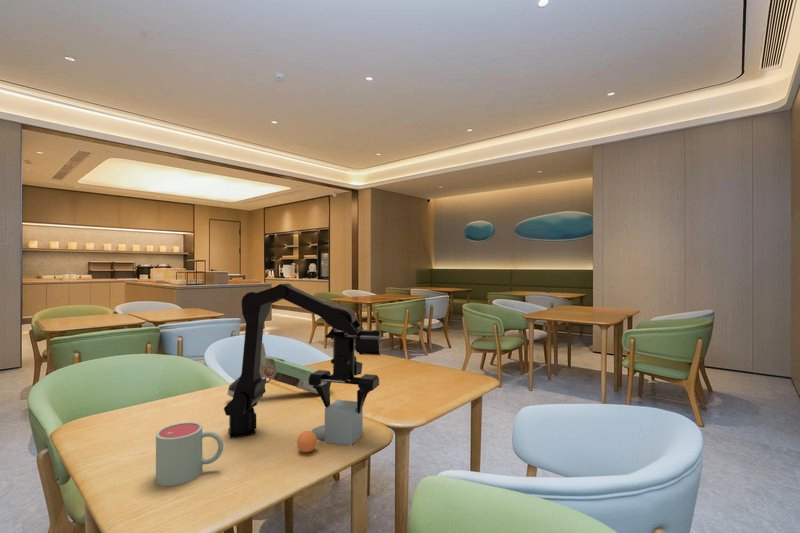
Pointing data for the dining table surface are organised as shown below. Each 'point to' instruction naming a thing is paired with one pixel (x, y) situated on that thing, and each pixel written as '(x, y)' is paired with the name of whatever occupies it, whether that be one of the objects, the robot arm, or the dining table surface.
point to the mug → (182, 453)
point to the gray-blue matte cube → (343, 422)
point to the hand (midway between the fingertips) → (343, 411)
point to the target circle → (319, 432)
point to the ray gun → (281, 373)
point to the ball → (307, 441)
